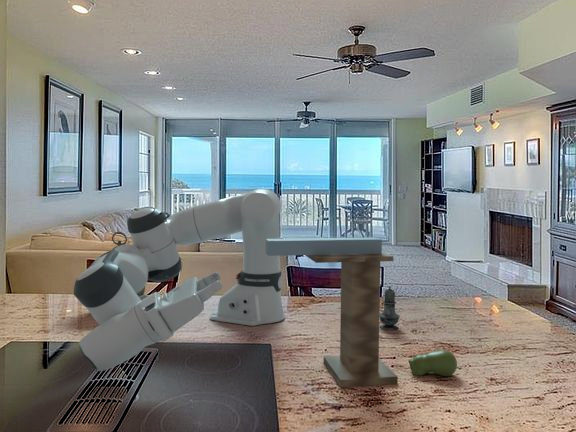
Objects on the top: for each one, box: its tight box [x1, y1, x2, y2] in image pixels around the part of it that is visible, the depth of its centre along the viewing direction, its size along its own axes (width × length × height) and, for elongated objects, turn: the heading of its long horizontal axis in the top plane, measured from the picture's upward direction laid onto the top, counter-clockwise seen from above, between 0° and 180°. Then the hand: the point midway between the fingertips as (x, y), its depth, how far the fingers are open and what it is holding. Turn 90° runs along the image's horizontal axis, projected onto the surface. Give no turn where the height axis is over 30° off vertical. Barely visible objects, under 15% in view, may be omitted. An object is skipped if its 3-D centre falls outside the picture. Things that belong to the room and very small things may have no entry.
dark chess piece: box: [379, 285, 401, 332], centre depth 142 cm, size 6×6×12 cm
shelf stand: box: [304, 251, 399, 388], centre depth 107 cm, size 17×14×26 cm
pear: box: [408, 349, 458, 377], centre depth 108 cm, size 6×5×10 cm
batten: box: [266, 236, 383, 257], centre depth 105 cm, size 24×4×3 cm, turn 100°
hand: (220, 279), depth 102 cm, fingers open, 8 cm apart
